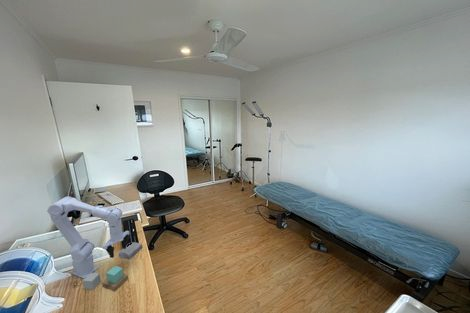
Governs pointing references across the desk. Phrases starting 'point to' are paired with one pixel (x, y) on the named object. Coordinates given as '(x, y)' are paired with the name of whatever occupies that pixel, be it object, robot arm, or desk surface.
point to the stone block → (130, 250)
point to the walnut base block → (116, 285)
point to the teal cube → (114, 274)
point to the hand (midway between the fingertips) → (118, 252)
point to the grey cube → (91, 281)
